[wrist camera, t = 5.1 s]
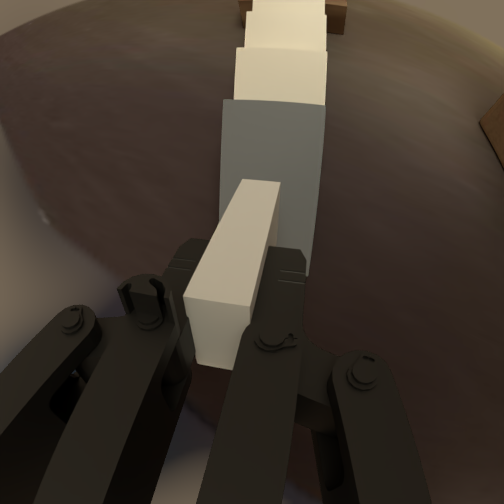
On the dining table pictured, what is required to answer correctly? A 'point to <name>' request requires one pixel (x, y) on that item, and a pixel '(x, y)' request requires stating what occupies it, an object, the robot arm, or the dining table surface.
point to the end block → (333, 10)
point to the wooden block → (495, 127)
